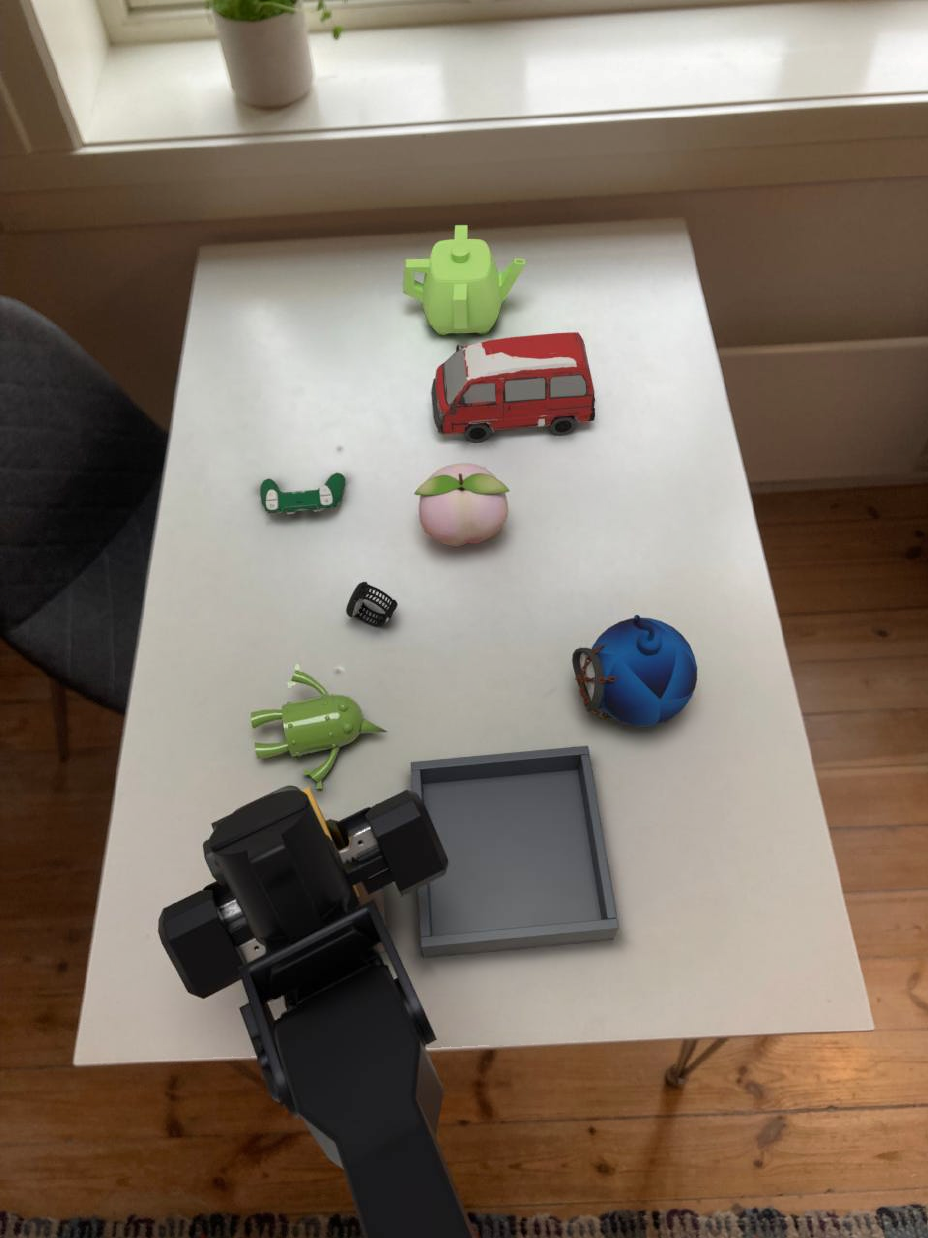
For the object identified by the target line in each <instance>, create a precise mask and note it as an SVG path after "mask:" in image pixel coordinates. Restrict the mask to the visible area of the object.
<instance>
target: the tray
mask: <svg viewBox="0 0 928 1238" xmlns="http://www.w3.org/2000/svg"><path fill="white" fill-rule="evenodd" d="M410 779H411V781H410V782H411V791H412V792H415V793H417V794H418V795H419V797H420V798H421V800H422V801H423V803H424V805H425V807H426V809H427V811H428V813H429V815H430V818H431V820H432V823H433V825H434V827H435V830H436V832H437V834H438V837H439V839H440V841H441V844H442V846H443V849H444V851H445V853H446V856H447V858H448V862H449V863H448V867H447V870H446V874H445V875H443V876H442V877H440V878H438V879H436V880H434V881H432V882H430V883H428V884H426V885H424V886H422V887H420V888H418V889H417V897H418V898H417V902H418V917H419V918H418V919H419V936H420V948H421V951H422V953H423V956H424V958H426V959H428V958H438V957H447V956H458V955H459V956H460V955H467V954H477V953H478V954H479V953H489V952H498V951H499V952H500V951H511V950H520V949H521V950H522V949H530V948H542V947H551V946H563V945H572V944H582V943H593V942H605V941H613V940H614V939H615V938H616V936H617V933H618V931H619V929H620V927H619V926H620V925H619V920H618V915H617V909H616V902H615V898H614V890H613V885H612V884H613V883H612V879H611V878H612V877H611V874H610V868H609V862H608V855H607V850H606V844H605V838H604V837H605V836H604V831H603V825H602V820H601V814H600V809H599V801H598V797H597V791H596V783H595V778H594V771H593V767H592V761H591V755H590V748H589V745H579V746H569V747H557V748H548V749H538V750H536V749H535V750H526V751H514V752H504V753H503V752H502V753H495V754H494V753H493V754H483V755H473V756H461V757H451V758H440V759H429V760H418V761H410Z"/></svg>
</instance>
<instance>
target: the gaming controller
mask: <svg viewBox="0 0 928 1238" xmlns="http://www.w3.org/2000/svg"><path fill="white" fill-rule="evenodd" d="M345 487H346V477H345V475H343V474H342V473H340V472H335V473H333V474H331V475H330V476H329V478H327V480H326V481H325V483H323V484H322V485H320V486H319V487H318V489H309V490H299V491H298V490H297V491H286V492H283V491H282V490H280V488H279V486H278V484H277V483H276V481H274V480H273V479H272V478H266V479H264V480H263V481H262V483H261V484H260V489H259V490H260V491H259V492H260V493H259V495H260V496H259V497H260V502H261V505H262V507H263V509H264V511H266V512H267V514H278V513H279V514H281V513H284V512H285V513H286V514H287V515H293V514H294V515H295V514H296V512H297V511H309V510H312V512H314V513H316V512H317V513H318V512H322V511H323V510H324V509H326V510H327V509H331V508H336V507H338V506H339V504H340V503H341V501H342V499H343V495H344V492H345Z"/></svg>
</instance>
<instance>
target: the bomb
mask: <svg viewBox="0 0 928 1238" xmlns="http://www.w3.org/2000/svg"><path fill="white" fill-rule="evenodd" d="M571 663H572V668H573V672H574V675H575V678H574V680H576V682H577V685H578V689H579V690H578V692H579V695H580V696H581V698H582V701H583V703H584V706H585V707H584V708H585V709H586V712H587V713H591V712H594V713H595V715H597V716H598V717H600V718H602V719H604V720H608V719H609V720H613V719H614V720H616V721H617V722H619V723H622V724H624V725H628V726H632V727H642V728H643V727H652V726H657V725H659V724H663V723H665V722H668V721H669V720H671V719H673V718H674V717H676V716H677V715H679V713H681V711H683V710H684V709H685V707H686V706H687V705H688V703H689V702H690V700H691V699H692V697H693V694H694V692H695V689H696V687H697V682H698V664H697V660H696V656H695V654H694V651H693V649H692V647H691V644H690V643H689V641H687V639H686V638H685V636H684V635H683V634H682V633H681V632H679V631H678V630H677V629H676V628H675V627H673V626H672V625H670V624H668V623H666V622H664V621H662V620H659V619H655V618H651V617H641V615H639V614H635V615H634V616H633V617H631V618H627V619H622V620H620V621H618V622H616V623H614V624H613V625H611V626H609V627H608V628H606V629H605V631H603V632H602V633H601V634H600V635H599V636H598V637H597V639H596V640H595V641H594V643H593V644H592V646H591V648H589V647H578V648H575V650H574V651H573V653H572V657H571ZM599 708H600V710H602V711H603V712H601V711H599Z"/></svg>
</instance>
